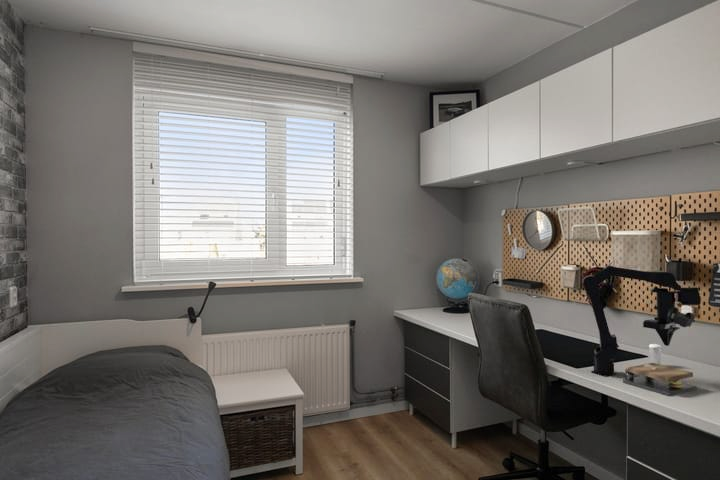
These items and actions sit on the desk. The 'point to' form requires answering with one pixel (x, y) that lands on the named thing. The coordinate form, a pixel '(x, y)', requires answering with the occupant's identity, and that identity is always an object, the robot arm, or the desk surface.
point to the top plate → (660, 372)
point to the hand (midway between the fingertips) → (666, 345)
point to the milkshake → (655, 353)
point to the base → (658, 384)
